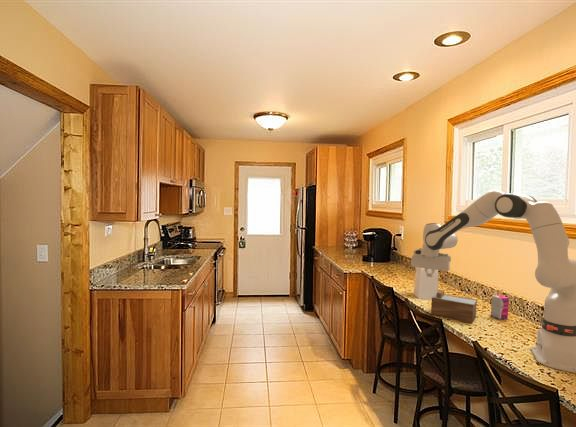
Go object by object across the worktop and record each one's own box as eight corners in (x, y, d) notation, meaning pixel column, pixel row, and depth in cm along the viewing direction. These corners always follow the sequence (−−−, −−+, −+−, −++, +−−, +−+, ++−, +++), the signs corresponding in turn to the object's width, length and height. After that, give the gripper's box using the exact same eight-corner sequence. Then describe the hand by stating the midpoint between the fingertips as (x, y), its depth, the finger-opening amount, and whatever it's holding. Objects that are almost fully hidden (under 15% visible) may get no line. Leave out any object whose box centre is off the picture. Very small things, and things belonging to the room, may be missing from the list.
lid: (473, 306, 179) (473, 299, 179) (432, 299, 191) (432, 292, 191) (476, 302, 187) (476, 295, 187) (436, 295, 198) (436, 289, 198)
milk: (432, 294, 231) (434, 255, 230) (438, 299, 220) (440, 258, 219) (413, 293, 233) (415, 254, 232) (418, 298, 221) (420, 257, 220)
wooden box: (472, 323, 178) (473, 305, 178) (431, 314, 190) (431, 297, 190) (475, 317, 188) (476, 299, 188) (436, 309, 200) (437, 293, 199)
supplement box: (499, 319, 185) (500, 298, 185) (490, 316, 191) (491, 295, 190) (508, 319, 187) (509, 297, 186) (498, 315, 192) (499, 294, 192)
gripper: (452, 253, 192) (450, 278, 193) (413, 249, 204) (412, 273, 204) (449, 255, 187) (448, 280, 187) (410, 250, 199) (409, 274, 199)
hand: (429, 276), depth 196 cm, fingers closed
